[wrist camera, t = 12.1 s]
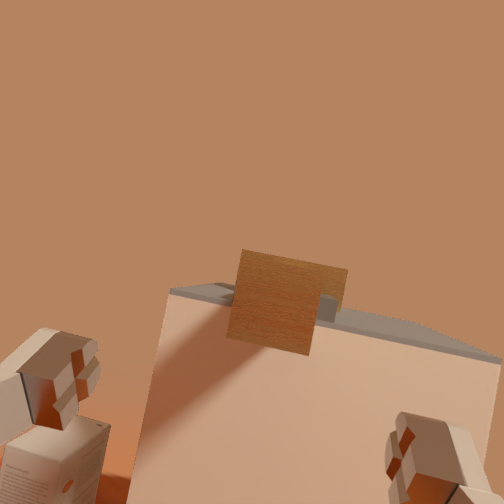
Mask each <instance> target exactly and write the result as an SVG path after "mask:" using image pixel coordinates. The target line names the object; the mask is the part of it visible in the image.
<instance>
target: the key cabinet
mask: <svg viewBox="0 0 504 504" xmlns="http://www.w3.org/2000/svg"><path fill="white" fill-rule="evenodd" d="M236 284H237V280H236ZM236 284H235V285H231V284H226V283H214V284H206V285H196V286H187V287H178V288H170V292H169V297H168V301H167V306H166V311H165V317H164V321H163V326H162V331H161V336H160V341H159V346H158V351H157V356H156V361H155V366H154V370H153V375H152V380H151V385H150V390H149V395H148V400H147V405H146V410H145V415H144V419H143V424H142V429H141V434H140V439H139V444H138V449H137V454H136V459H135V464H134V468H133V473H132V478H131V483H130V488H129V493H128V498H127V503H126V504H389V496H388V490H389V488H390V486H391V483H392V481H391V479H390V478H389V477H388V475H387V474H386V470H385V449H386V442H387V440H388V437H389V434H390V433H391V432H393V431H395V430H396V425H395V420H396V418H397V416H398V414H399V413H400V412H401V411H402V412H406V413H411V414H415V415H420V416H424V417H429V418H433V419H438V420H441V421H446V422H451V423H455V424H460V425H464V426H466V427H467V428H468V429H469V431H470V433H471V436H472V439H473V442H474V444H475V447H476V450H477V453H478V455H479V458H480V461H481V463H482V466H484V460H485V455H486V449H487V443H488V437H489V432H490V426H491V420H492V414H493V408H494V403H495V397H496V391H497V385H498V380H499V374H500V368H501V362H502V358H499V357H497V356H494V355H492V354H489V353H487V352H485V351H482V350H480V349H478V348H475V347H473V346H470V345H468V344H466V343H463V342H461V341H458V340H456V339H453V338H451V337H449V336H446V335H444V334H442V333H439V332H437V331H434V330H432V329H429V328H427V327H425V326H422V325H420V324H417V323H415V322H411V321H406V320H401V319H396V318H391V317H387V316H382V315H376V314H372V313H367V312H362V311H357V310H352V309H348V308H343V307H341V310H340V313H339V312H336V311H337V305H338V300H336V299H335V298H333V297H332V296H330V295H325V294H321V295H320V301H319V306H318V311H317V316H316V322H315V327H314V332H313V337H312V343H311V348H310V353H309V356H305V355H301V354H297V353H292V352H288V351H283V350H279V349H274V348H270V347H265V346H261V345H257V344H252V343H248V342H243V341H239V340H234V339H230V338H226V334H227V329H228V324H229V319H230V314H231V309H232V304H233V299H234V294H235V289H236Z"/></svg>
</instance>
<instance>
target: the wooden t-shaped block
mask: <svg viewBox="0 0 504 504" xmlns="http://www.w3.org/2000/svg"><path fill="white" fill-rule="evenodd" d="M347 273H348V270H347V269H341V268H336V267H331V266H326V265H321V264H316V263H311V262H305V261H300V260H295V259H290V258H285V257H279V256H274V255H269V254H264V253H259V252H253V251H248V250H243V249H242V253H241V259H240V264H239V269H238V274H237V279H236V280H237V284H236V289H235V294H234V299H233V304H232V309H231V314H230V319H229V324H228V329H227V334H226V338H230V339H234V340H239V341H243V342H248V343H252V344H257V345H261V346H265V347H270V348H274V349H279V350H283V351H288V352H292V353H297V354H301V355H305V356H309V353H310V348H311V343H312V337H313V332H314V327H315V322H316V316H317V311H318V306H319V301H320V295H321V294H325V295H330V296H332V297H333V298H335V299H336V300H338V305H337V311H336V312H339V313H340V310H341V304H342V299H343V294H344V288H345V283H346V278H347Z"/></svg>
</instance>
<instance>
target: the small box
mask: <svg viewBox="0 0 504 504" xmlns="http://www.w3.org/2000/svg"><path fill="white" fill-rule="evenodd" d="M110 428H111V425H110V424H107V423H103V422H100V421H97V420H93V419H90V418H86V417H82V416H79V415H75V416H74V417H73V419H72V420H71V421H70V423H69V424H68V425H67V427H66V428H65V429H64V431H60V430H56V429H52V428H48V427H44V426H37V427H35V428H33V429H31V430H30V431H28V432H26V433H24V434H23V435H21V436H19V437H17V438H16V439H14V440H12V441H10V442H8V443H7V444H6V445H5V449H4V453H3V458H2V463H1V468H0V504H95V500H96V495H97V490H98V486H99V481H100V476H101V471H102V466H103V461H104V456H105V451H106V446H107V441H108V437H109V432H110Z"/></svg>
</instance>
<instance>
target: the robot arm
mask: <svg viewBox="0 0 504 504" xmlns="http://www.w3.org/2000/svg"><path fill="white" fill-rule="evenodd" d="M97 352H98V345H97V341H95V340H93V339H89V338H85V337H82V336H78V335H74V334H70V333H66V332H63V331H58V330H54V329H50V328H46V327H44V328H42V329H39V330H38V331H36V333H34V334H33V335H32V336H31V337H30V338H29V339H27V340H26V341H25V342H24V343H23V344H22V345H21V346H19V347H18V348H17V349H16V350H15V351H14V352H13V353H12V354H11V355H9V356H8V357H7V358H6V359H5V360H4V361H3V362H1V363H0V446H1V445H3V444H4V443H6V442H8V441H9V440H11V439H12V438H14V437H16V436H17V435H19V434H20V433H22V432H24V431H25V430H27V429H29V428H30V427H32V426H33V424H35V425H39V426H44V427H48V428H52V429H56V430H60V431H64V429H65V428H66V427H67V425H68V424H69V423H70V421H71V420H72V419H73V417H74V416H75V415H76V413H77V412H78V411H79V402H80V401H82V400H83V399H86V398H87V397H89V396H90V394H91V393H92V391H93V390H94V389H95V387H96V384H97V382H98V380H99V376H100V370H101V369H100V362H99V361H98V360H97V359H96V358H95V354H96V353H97ZM395 425H396V430H395V431H393V432H391V433H390V434H389V437H388V440H387V442H386V449H385V470H386V474H387V475H388V477H389V478H390V479H391V481H392V483H391V486H390V488H389V490H388V496H389V504H504V500H503V499H502V497H501V496H500V495H497V494H493V493H492V491H491V488H490V485H489V483H488V480H487V477H486V474H485V472H484V469H483V466H482V463H481V461H480V458H479V455H478V453H477V450H476V447H475V444H474V442H473V439H472V436H471V433H470V431H469V429H468V428H467V427H466V426H464V425H460V424H455V423H451V422H446V421H441V420H438V419H433V418H429V417H424V416H420V415H415V414H411V413H406V412H402V411H401V412H400V413H399V414H398V416H397V418H396V420H395Z"/></svg>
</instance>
